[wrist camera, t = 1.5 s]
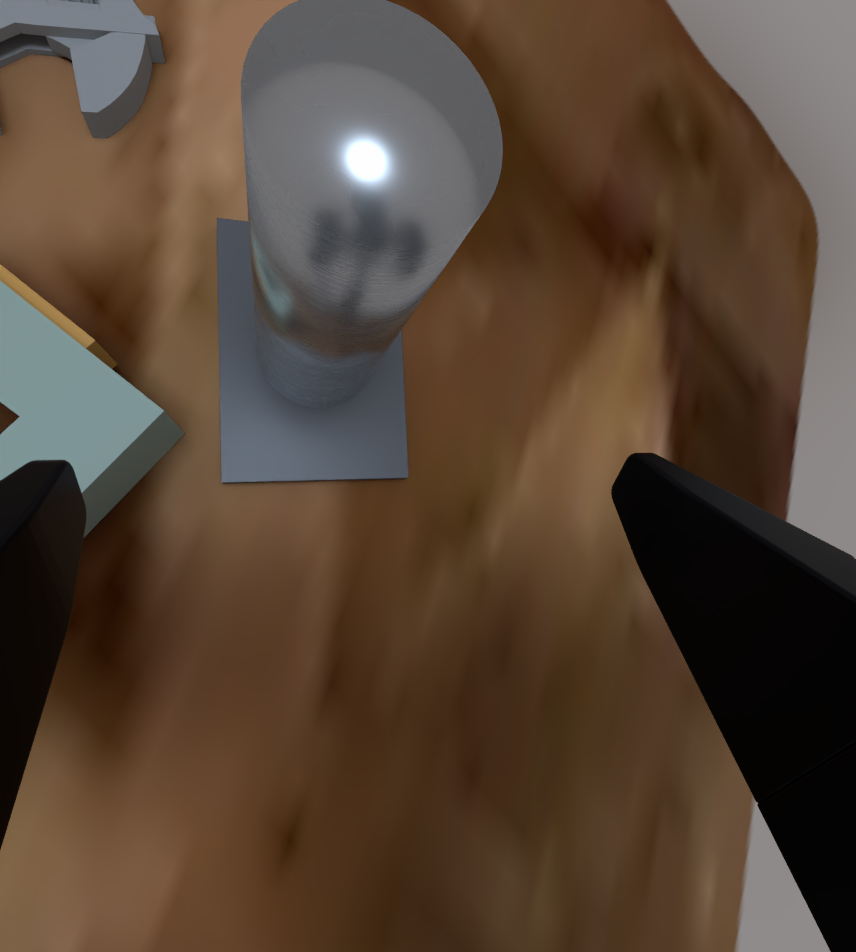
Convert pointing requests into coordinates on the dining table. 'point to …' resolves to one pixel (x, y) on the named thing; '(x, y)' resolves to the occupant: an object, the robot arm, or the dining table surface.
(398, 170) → the metal barrel peg
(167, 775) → the dining table surface
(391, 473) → the pad
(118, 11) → the adjustable wrench
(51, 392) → the socket block
